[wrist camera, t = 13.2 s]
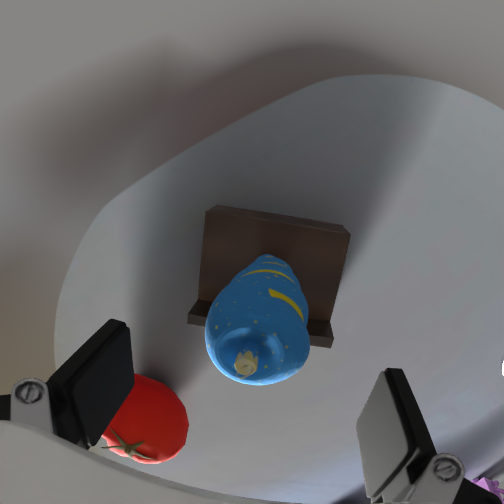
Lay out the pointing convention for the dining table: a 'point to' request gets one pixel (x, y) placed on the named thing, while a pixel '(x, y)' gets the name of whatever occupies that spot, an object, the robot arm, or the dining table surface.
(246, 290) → the ornament
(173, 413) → the tomato
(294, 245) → the shelf
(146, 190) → the dining table surface
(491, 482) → the teapot
